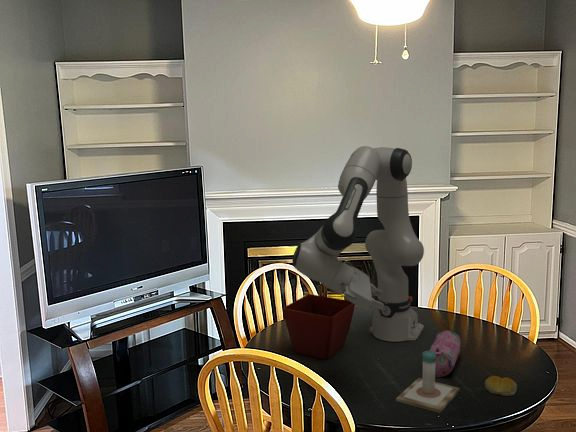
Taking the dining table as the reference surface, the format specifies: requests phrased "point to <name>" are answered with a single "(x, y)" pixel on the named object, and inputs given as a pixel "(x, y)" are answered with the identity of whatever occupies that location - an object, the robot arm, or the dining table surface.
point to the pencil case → (446, 352)
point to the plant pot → (318, 324)
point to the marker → (428, 372)
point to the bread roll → (501, 386)
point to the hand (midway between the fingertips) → (382, 300)
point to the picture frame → (428, 396)
